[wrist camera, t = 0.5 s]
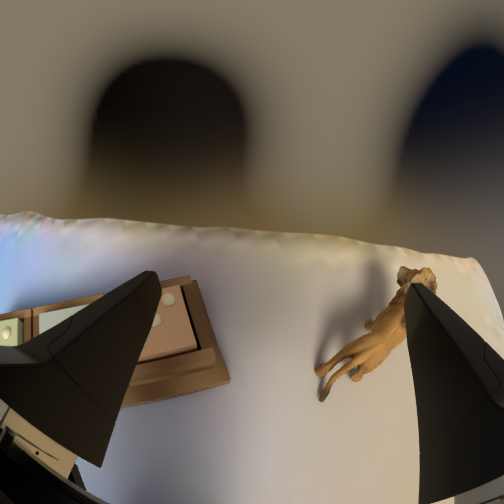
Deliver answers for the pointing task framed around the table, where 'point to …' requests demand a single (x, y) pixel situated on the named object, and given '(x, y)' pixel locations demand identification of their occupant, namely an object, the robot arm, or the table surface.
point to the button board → (166, 370)
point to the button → (56, 317)
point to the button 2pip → (11, 332)
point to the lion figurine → (377, 333)
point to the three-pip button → (169, 329)
